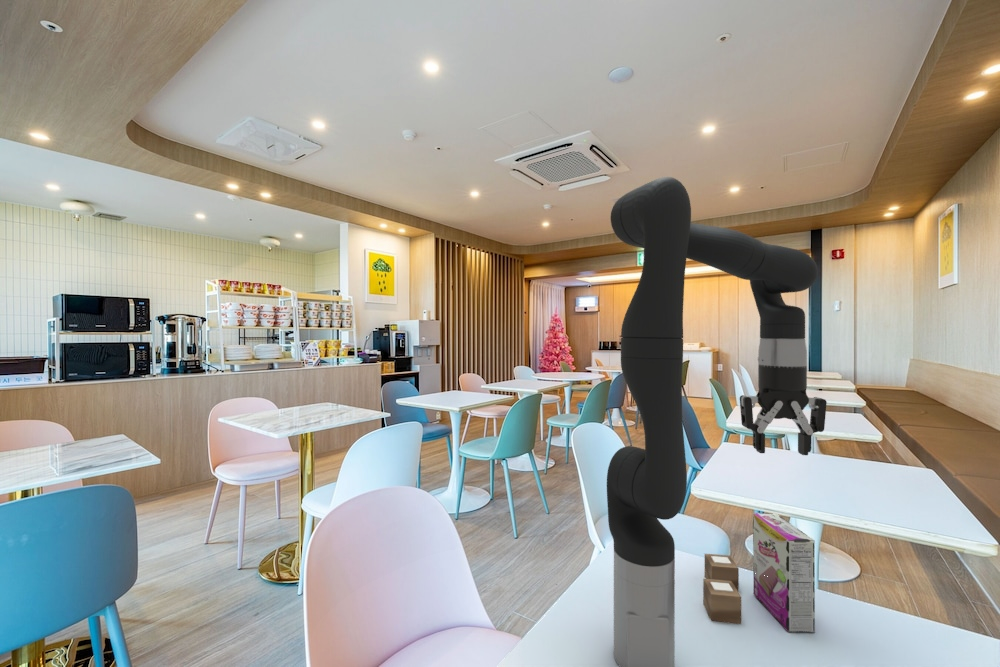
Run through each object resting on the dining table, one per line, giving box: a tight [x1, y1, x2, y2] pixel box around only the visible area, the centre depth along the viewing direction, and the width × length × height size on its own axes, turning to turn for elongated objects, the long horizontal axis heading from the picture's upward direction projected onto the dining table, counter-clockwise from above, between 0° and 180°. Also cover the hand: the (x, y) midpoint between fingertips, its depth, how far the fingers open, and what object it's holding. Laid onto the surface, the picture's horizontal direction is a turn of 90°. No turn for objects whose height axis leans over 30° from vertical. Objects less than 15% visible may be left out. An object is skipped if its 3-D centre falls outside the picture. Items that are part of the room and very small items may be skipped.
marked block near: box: [702, 578, 742, 625], centre depth 81 cm, size 5×5×5 cm
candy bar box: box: [752, 512, 816, 634], centre depth 81 cm, size 11×5×16 cm, turn 179°
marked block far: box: [704, 553, 740, 593], centre depth 90 cm, size 5×5×5 cm
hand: (781, 453), depth 81 cm, fingers open, 6 cm apart
